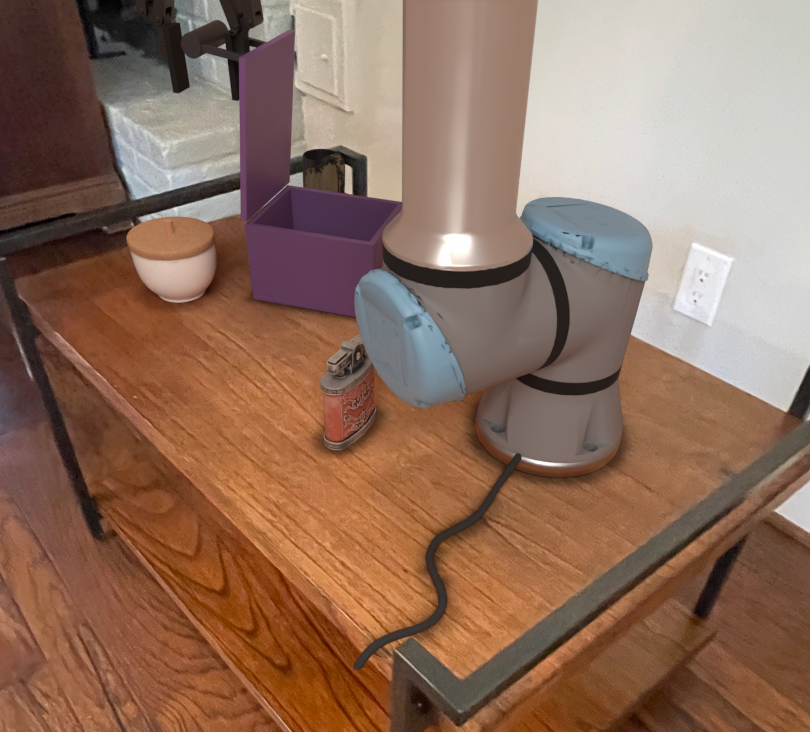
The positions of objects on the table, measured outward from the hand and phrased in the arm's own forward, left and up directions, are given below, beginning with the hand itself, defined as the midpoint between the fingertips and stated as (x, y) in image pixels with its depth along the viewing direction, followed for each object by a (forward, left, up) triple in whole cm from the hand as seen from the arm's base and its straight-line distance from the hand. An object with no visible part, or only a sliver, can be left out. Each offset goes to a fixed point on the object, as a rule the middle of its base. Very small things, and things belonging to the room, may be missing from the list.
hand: (210, 93), depth 89 cm
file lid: (0, -7, -3) cm, 8 cm away
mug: (+15, -8, -22) cm, 28 cm away
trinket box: (-8, +4, -22) cm, 24 cm away
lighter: (-29, -27, -22) cm, 45 cm away
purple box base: (0, -14, -22) cm, 26 cm away
